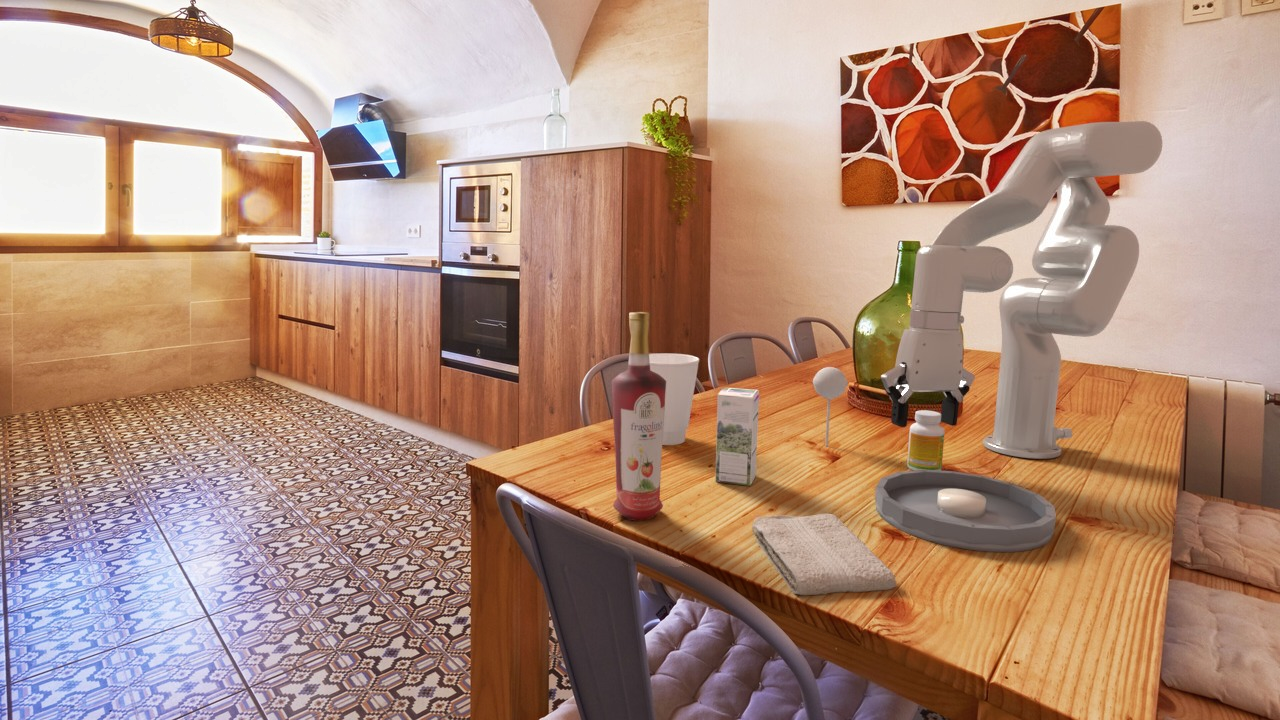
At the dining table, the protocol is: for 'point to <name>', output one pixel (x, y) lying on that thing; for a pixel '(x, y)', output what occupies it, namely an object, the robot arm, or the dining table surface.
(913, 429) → the supplement bottle
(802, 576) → the washcloth
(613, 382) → the liquor
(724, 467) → the syrup box
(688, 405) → the cup
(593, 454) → the dining table surface
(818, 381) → the lollipop
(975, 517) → the ring tray
